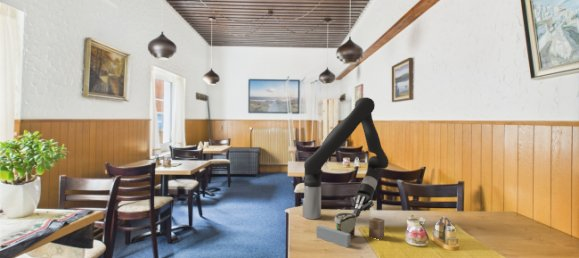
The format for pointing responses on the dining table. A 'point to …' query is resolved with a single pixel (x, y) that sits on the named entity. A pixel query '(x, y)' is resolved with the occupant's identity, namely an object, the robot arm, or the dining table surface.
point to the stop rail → (333, 236)
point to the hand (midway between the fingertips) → (355, 216)
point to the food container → (346, 223)
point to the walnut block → (376, 228)
